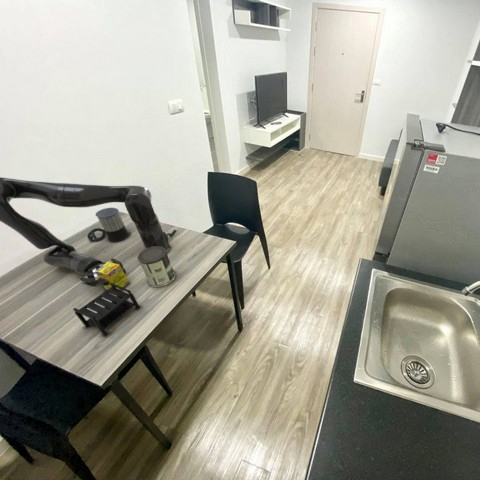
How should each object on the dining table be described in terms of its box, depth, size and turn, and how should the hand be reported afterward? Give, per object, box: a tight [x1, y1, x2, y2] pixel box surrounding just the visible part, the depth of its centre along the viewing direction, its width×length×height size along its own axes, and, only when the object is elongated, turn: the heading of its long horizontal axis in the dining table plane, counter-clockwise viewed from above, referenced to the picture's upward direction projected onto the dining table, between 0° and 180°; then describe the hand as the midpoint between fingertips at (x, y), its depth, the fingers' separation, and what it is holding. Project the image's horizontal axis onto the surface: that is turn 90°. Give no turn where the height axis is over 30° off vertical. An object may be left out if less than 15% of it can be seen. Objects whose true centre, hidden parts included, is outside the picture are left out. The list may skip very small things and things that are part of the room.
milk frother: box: [86, 207, 130, 243], centre depth 129 cm, size 14×16×15 cm
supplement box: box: [95, 261, 130, 291], centre depth 105 cm, size 6×6×11 cm
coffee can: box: [136, 246, 176, 288], centre depth 110 cm, size 10×10×14 cm
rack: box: [72, 283, 141, 337], centre depth 94 cm, size 14×10×10 cm
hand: (116, 277), depth 104 cm, fingers closed on supplement box, 6 cm apart
